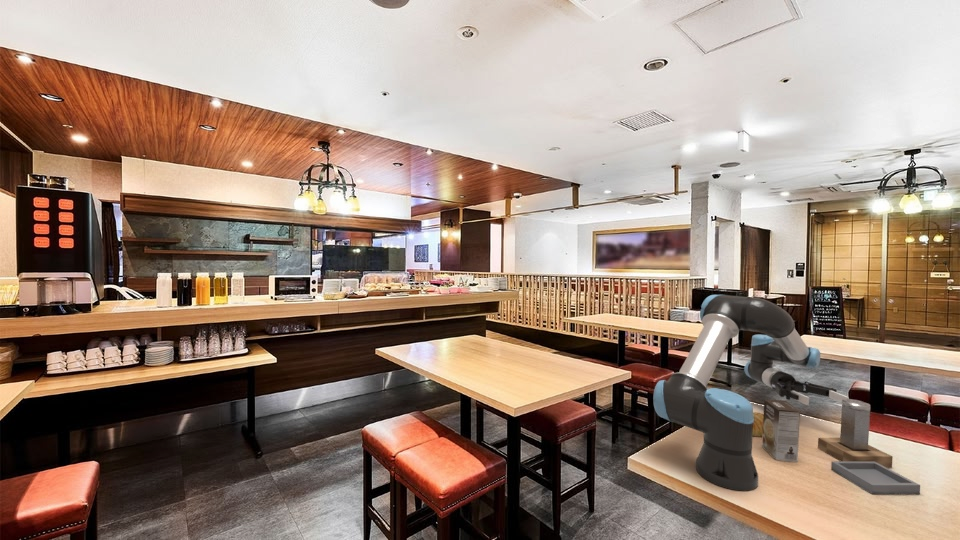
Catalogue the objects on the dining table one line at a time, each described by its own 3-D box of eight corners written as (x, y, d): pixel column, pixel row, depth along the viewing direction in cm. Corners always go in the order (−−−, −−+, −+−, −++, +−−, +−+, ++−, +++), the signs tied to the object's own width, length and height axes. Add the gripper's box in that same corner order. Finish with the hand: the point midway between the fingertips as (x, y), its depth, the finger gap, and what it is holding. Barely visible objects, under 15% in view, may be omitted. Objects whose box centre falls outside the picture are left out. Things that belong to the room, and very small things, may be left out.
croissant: (737, 447, 138) (748, 432, 134) (716, 423, 146) (725, 408, 142) (784, 439, 143) (796, 424, 139) (761, 416, 151) (771, 402, 147)
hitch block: (852, 467, 118) (853, 456, 118) (817, 448, 130) (818, 437, 130) (891, 467, 119) (892, 456, 119) (853, 448, 131) (854, 437, 131)
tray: (872, 494, 105) (872, 485, 105) (831, 469, 117) (831, 461, 117) (919, 494, 106) (920, 485, 105) (874, 469, 118) (874, 461, 117)
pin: (852, 462, 121) (855, 406, 121) (833, 452, 128) (836, 398, 127) (873, 462, 121) (876, 406, 121) (853, 452, 128) (856, 399, 127)
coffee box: (760, 446, 131) (762, 398, 131) (782, 448, 130) (784, 400, 129) (775, 460, 122) (777, 409, 122) (799, 462, 121) (801, 411, 120)
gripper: (810, 389, 156) (863, 411, 134) (747, 390, 155) (790, 412, 134) (810, 370, 155) (864, 390, 134) (748, 371, 155) (791, 390, 133)
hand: (827, 401), depth 134 cm, fingers open, 13 cm apart
